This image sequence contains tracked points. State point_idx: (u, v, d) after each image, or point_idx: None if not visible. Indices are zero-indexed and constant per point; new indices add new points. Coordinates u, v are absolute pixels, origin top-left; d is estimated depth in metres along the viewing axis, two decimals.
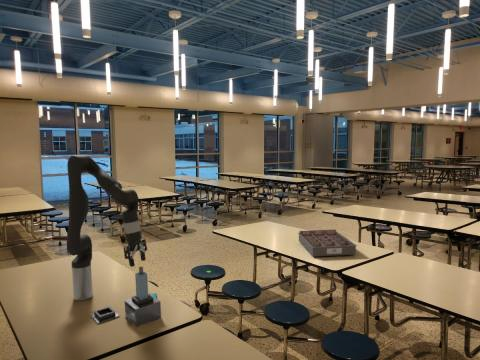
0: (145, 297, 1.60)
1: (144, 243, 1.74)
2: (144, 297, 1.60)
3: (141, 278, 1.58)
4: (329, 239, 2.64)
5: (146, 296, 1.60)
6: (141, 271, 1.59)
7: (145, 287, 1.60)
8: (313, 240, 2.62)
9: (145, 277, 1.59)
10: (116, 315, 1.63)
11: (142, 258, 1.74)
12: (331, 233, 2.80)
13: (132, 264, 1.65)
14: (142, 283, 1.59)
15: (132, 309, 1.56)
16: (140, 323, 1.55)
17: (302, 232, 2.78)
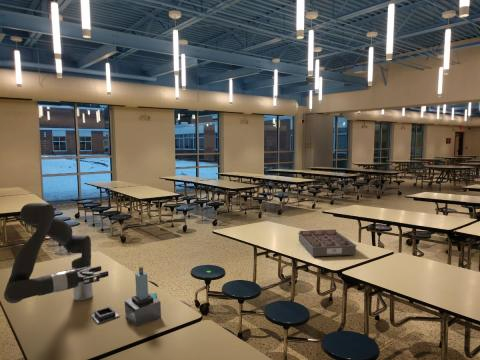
0: (145, 297, 1.60)
1: None
2: (144, 297, 1.60)
3: (141, 278, 1.58)
4: (329, 239, 2.64)
5: (146, 296, 1.60)
6: (141, 271, 1.59)
7: (145, 287, 1.60)
8: (313, 240, 2.62)
9: (145, 277, 1.59)
10: (116, 315, 1.63)
11: None
12: (331, 233, 2.80)
13: None
14: (142, 283, 1.59)
15: (132, 309, 1.56)
16: (140, 323, 1.55)
17: (302, 232, 2.78)
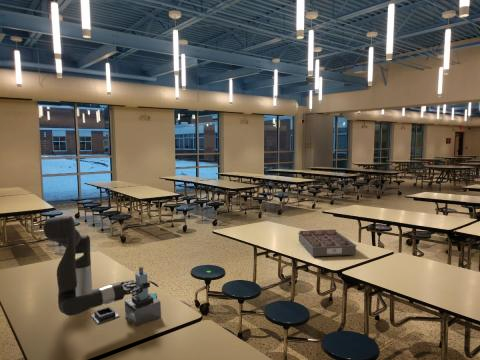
0: (145, 297, 1.60)
1: None
2: (144, 297, 1.60)
3: (141, 278, 1.58)
4: (329, 239, 2.64)
5: (146, 296, 1.60)
6: (141, 271, 1.59)
7: None
8: (313, 240, 2.62)
9: (145, 277, 1.59)
10: (116, 315, 1.63)
11: None
12: (331, 233, 2.80)
13: None
14: (142, 283, 1.59)
15: (132, 309, 1.56)
16: (140, 323, 1.55)
17: (302, 232, 2.78)
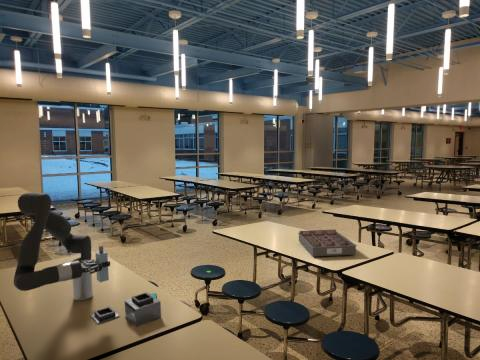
0: (105, 276, 1.60)
1: None
2: (104, 276, 1.60)
3: (101, 256, 1.58)
4: (329, 239, 2.64)
5: (106, 275, 1.61)
6: (101, 250, 1.59)
7: None
8: (313, 240, 2.62)
9: (105, 256, 1.60)
10: (116, 315, 1.63)
11: None
12: (331, 233, 2.80)
13: None
14: (102, 262, 1.59)
15: (132, 309, 1.56)
16: (140, 323, 1.55)
17: (302, 232, 2.78)
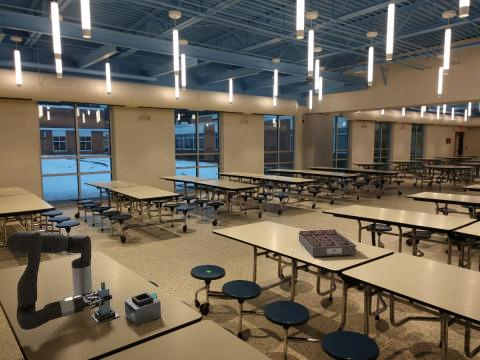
0: (107, 311, 1.62)
1: None
2: (106, 312, 1.62)
3: (103, 293, 1.60)
4: (329, 239, 2.64)
5: (108, 310, 1.62)
6: (103, 286, 1.61)
7: (107, 301, 1.62)
8: (313, 240, 2.62)
9: (107, 292, 1.61)
10: (116, 315, 1.63)
11: None
12: (331, 233, 2.80)
13: None
14: None
15: (132, 309, 1.56)
16: (140, 323, 1.55)
17: (302, 232, 2.78)
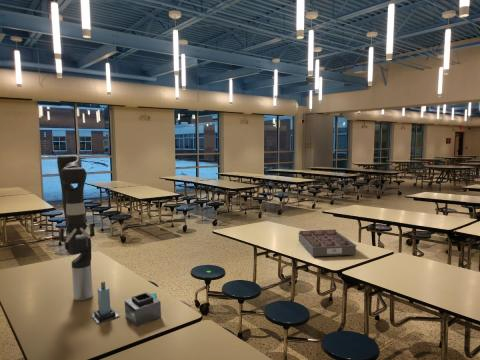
0: (107, 312, 1.62)
1: (91, 228, 1.58)
2: (106, 312, 1.62)
3: (103, 293, 1.60)
4: (329, 239, 2.64)
5: (108, 310, 1.62)
6: (103, 286, 1.61)
7: (107, 301, 1.62)
8: (313, 240, 2.62)
9: (107, 292, 1.61)
10: (116, 315, 1.63)
11: (87, 243, 1.59)
12: (331, 233, 2.80)
13: (66, 248, 1.53)
14: (104, 298, 1.61)
15: (132, 309, 1.56)
16: (140, 323, 1.55)
17: (302, 232, 2.78)
